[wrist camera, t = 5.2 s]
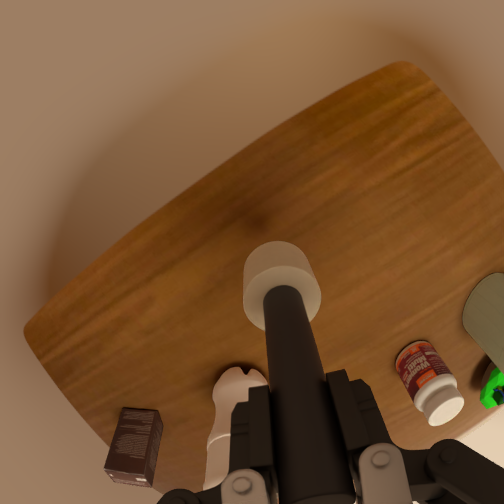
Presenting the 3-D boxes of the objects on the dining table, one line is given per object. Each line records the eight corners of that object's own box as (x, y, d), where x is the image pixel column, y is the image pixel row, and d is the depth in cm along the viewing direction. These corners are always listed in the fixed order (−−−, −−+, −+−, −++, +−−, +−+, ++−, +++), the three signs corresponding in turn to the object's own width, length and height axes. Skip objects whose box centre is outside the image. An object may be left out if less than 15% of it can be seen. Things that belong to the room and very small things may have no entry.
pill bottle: (409, 335, 38) (446, 392, 27) (439, 342, 39) (476, 394, 28) (386, 370, 40) (415, 429, 30) (416, 375, 41) (447, 428, 30)
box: (130, 424, 44) (113, 483, 33) (122, 406, 42) (101, 467, 31) (165, 427, 44) (152, 489, 33) (159, 409, 42) (142, 474, 31)
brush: (237, 248, 21) (220, 489, 6) (304, 234, 21) (405, 455, 6) (251, 305, 22) (257, 535, 8) (313, 293, 22) (385, 511, 7)
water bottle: (230, 403, 42) (223, 570, 18) (204, 370, 39) (179, 556, 16) (277, 388, 40) (295, 564, 17) (255, 353, 38) (262, 552, 15)
